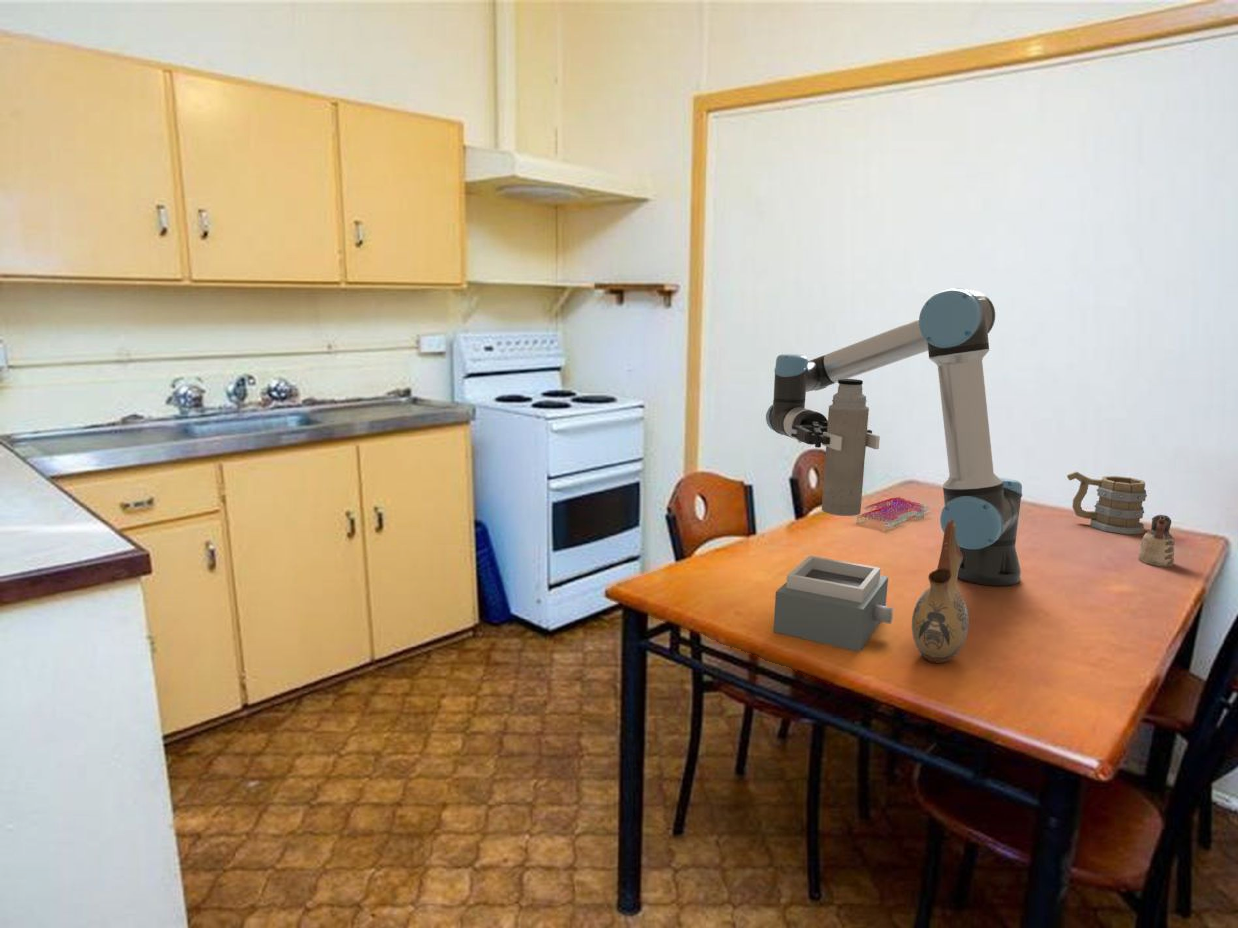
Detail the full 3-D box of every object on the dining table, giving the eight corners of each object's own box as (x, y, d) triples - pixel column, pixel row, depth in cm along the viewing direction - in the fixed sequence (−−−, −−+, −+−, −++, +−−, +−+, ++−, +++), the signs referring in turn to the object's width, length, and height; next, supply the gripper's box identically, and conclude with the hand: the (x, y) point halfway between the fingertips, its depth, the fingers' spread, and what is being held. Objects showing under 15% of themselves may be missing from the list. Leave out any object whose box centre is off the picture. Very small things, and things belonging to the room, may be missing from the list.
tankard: (1142, 526, 222) (1150, 475, 219) (1143, 537, 212) (1151, 483, 209) (1062, 515, 232) (1069, 466, 229) (1059, 525, 222) (1066, 474, 219)
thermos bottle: (858, 507, 168) (869, 378, 163) (862, 517, 161) (873, 381, 155) (821, 505, 170) (829, 376, 164) (822, 514, 162) (831, 380, 157)
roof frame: (890, 534, 212) (892, 516, 211) (841, 523, 222) (842, 505, 221) (939, 515, 232) (940, 498, 231) (891, 506, 243) (893, 490, 242)
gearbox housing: (900, 618, 153) (905, 567, 151) (877, 655, 136) (882, 599, 134) (806, 598, 163) (809, 550, 161) (773, 631, 146) (776, 578, 144)
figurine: (1175, 562, 190) (1183, 514, 188) (1170, 568, 185) (1178, 520, 183) (1141, 555, 195) (1148, 509, 193) (1135, 562, 190) (1142, 514, 188)
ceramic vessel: (918, 635, 145) (931, 505, 140) (971, 646, 141) (986, 513, 136) (899, 668, 132) (912, 526, 127) (956, 682, 127) (972, 535, 122)
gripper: (845, 441, 182) (902, 459, 161) (764, 443, 177) (811, 463, 156) (848, 409, 181) (905, 423, 159) (765, 410, 176) (813, 425, 154)
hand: (858, 443), depth 157 cm, fingers closed on thermos bottle, 8 cm apart
